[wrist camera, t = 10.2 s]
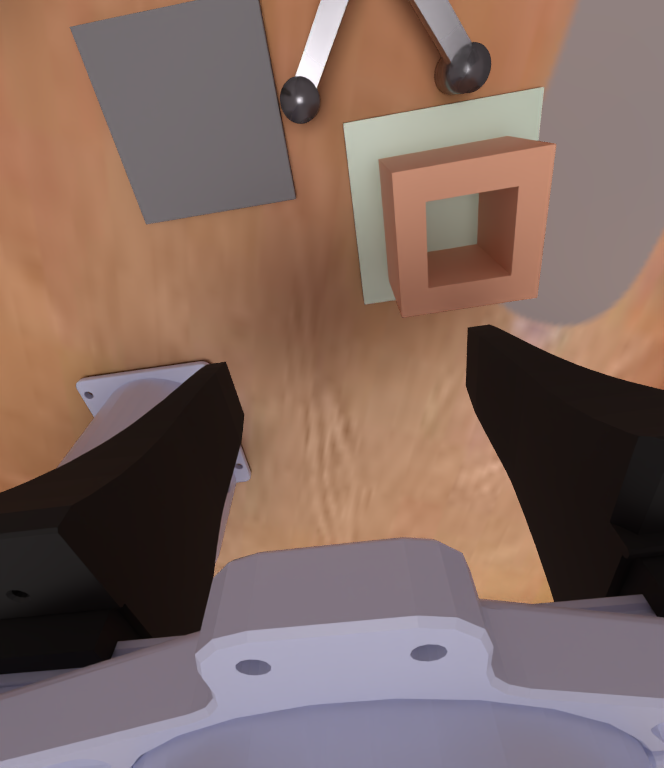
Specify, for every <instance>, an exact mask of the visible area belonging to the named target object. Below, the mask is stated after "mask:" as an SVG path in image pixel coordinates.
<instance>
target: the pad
mask: <svg viewBox="0 0 664 768" xmlns="http://www.w3.org/2000/svg"><path fill="white" fill-rule="evenodd" d="M543 94H544V87H539V88H534V89H528V90H523V91H517V92H512V93H506V94H501V95H495V96H490V97H484V98H479V99H473V100H468V101H462V102H457V103H451V104H446V105H440V106H435V107H429V108H424V109H418V110H413V111H407V112H402V113H396V114H391V115H386V116H380V117H375V118H369V119H364V120H358V121H353V122H347V123H343V127H344V136H345V144H346V153H347V161H348V170H349V178H350V187H351V195H352V204H353V212H354V221H355V229H356V237H357V246H358V254H359V263H360V271H361V280H362V288H363V297H364V304H372V303H379V302H385V301H392V300H396V299H395V296H394V294H393V291H392V288H391V285H390V282H389V277H388V266H387V254H386V242H385V231H384V219H383V207H382V196H381V184H380V172H379V161H378V159H382V158H388V157H393V156H399V155H404V154H410V153H415V152H421V151H427V150H432V149H438V148H443V147H449V146H454V145H460V144H465V143H471V142H476V141H482V140H487V139H493V138H499V137H504V136H511V137H518V138H524V139H530V140H536V141H538V140H539V131H540V122H541V112H542V103H543ZM478 203H479V193H475V194H469V195H463V196H458V197H452V198H446V199H440V200H434V201H428V202H426V230H427V252H431V251H437V250H443V249H449V248H455V247H462V246H468V245H474V244H477V231H478Z"/></svg>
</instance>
